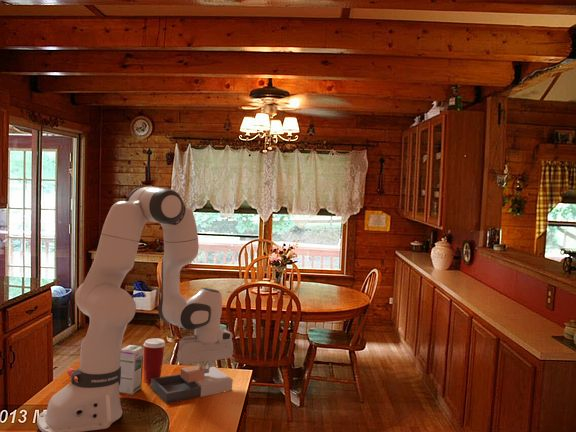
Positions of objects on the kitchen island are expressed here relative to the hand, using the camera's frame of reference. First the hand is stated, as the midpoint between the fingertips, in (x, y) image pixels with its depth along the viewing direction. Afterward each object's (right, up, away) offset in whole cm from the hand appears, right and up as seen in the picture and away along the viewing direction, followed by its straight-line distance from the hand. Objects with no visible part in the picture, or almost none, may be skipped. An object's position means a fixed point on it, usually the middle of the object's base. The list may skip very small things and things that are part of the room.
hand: (204, 373), depth 165 cm
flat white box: (+1, -5, +1) cm, 5 cm away
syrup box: (-24, -4, -7) cm, 25 cm away
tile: (-4, -1, -3) cm, 5 cm away
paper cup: (-19, -4, +3) cm, 20 cm away
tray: (-9, -4, -6) cm, 12 cm away
